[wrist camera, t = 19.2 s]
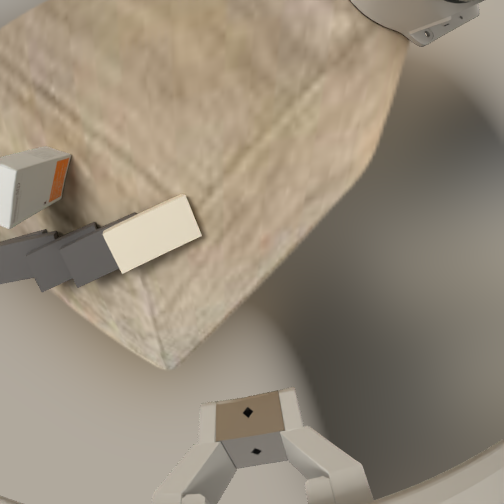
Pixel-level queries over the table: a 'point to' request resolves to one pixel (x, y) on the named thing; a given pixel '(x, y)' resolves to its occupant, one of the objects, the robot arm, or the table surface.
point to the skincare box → (30, 183)
